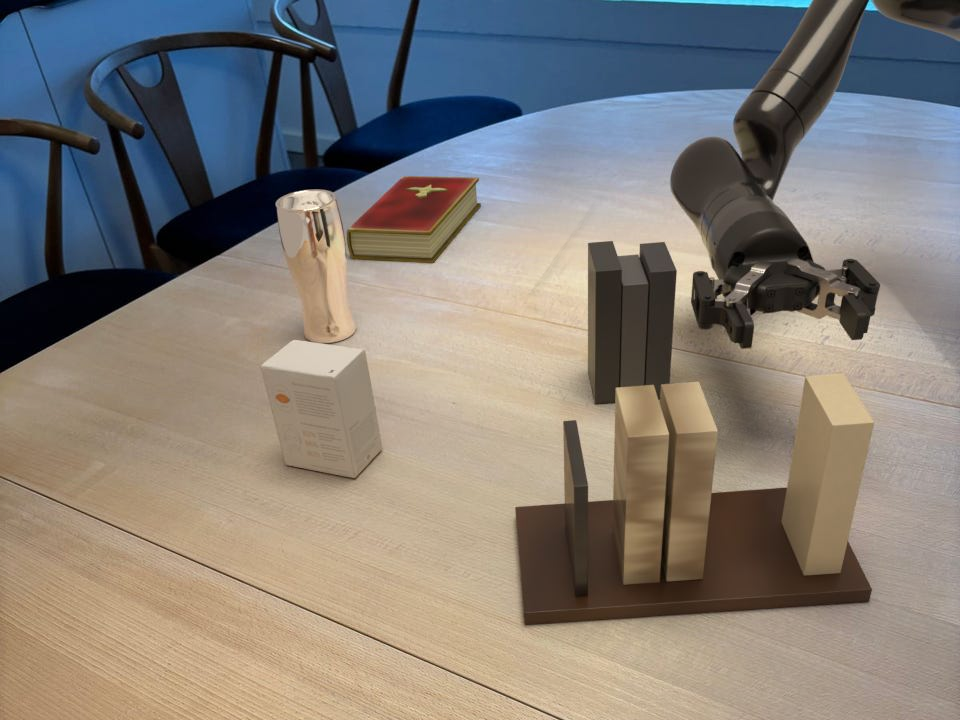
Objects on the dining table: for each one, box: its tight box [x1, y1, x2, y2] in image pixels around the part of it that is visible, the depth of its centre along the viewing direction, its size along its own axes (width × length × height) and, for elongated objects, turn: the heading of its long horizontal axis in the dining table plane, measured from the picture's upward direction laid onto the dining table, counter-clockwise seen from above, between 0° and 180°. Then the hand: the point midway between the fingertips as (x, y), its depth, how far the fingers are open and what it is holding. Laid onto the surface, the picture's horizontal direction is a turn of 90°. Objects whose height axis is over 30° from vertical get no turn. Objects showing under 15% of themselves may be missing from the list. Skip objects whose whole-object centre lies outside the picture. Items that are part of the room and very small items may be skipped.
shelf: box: [514, 381, 873, 625], centre depth 74 cm, size 26×14×14 cm, turn 91°
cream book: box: [781, 372, 875, 576], centre depth 72 cm, size 3×7×13 cm, turn 1°
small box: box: [260, 339, 383, 479], centre depth 91 cm, size 8×6×10 cm
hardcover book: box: [346, 175, 482, 264], centre depth 136 cm, size 12×21×4 cm, turn 163°
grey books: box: [587, 240, 678, 405], centre depth 96 cm, size 7×7×14 cm
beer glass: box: [275, 188, 357, 344], centre depth 110 cm, size 7×7×15 cm
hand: (804, 333), depth 75 cm, fingers open, 8 cm apart
